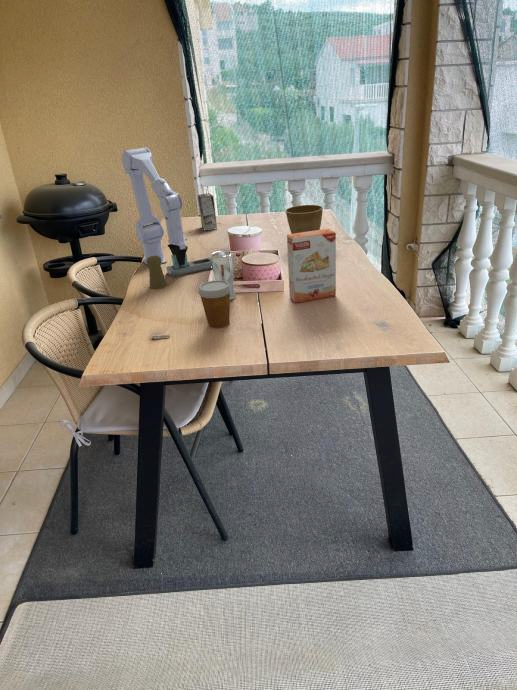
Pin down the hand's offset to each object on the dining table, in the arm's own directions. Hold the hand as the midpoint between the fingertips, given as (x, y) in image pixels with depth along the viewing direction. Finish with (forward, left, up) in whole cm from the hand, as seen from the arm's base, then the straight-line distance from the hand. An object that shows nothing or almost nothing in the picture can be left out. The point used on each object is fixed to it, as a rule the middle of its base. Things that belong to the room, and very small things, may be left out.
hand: (180, 263), depth 197 cm
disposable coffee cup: (+53, -6, -4) cm, 53 cm away
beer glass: (+35, +4, -4) cm, 35 cm away
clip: (0, 0, -4) cm, 4 cm away
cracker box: (+52, +27, -4) cm, 59 cm away
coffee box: (-57, +33, -4) cm, 66 cm away
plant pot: (+3, +53, -4) cm, 54 cm away
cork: (+9, -12, -4) cm, 15 cm away
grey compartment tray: (0, +4, -4) cm, 6 cm away
